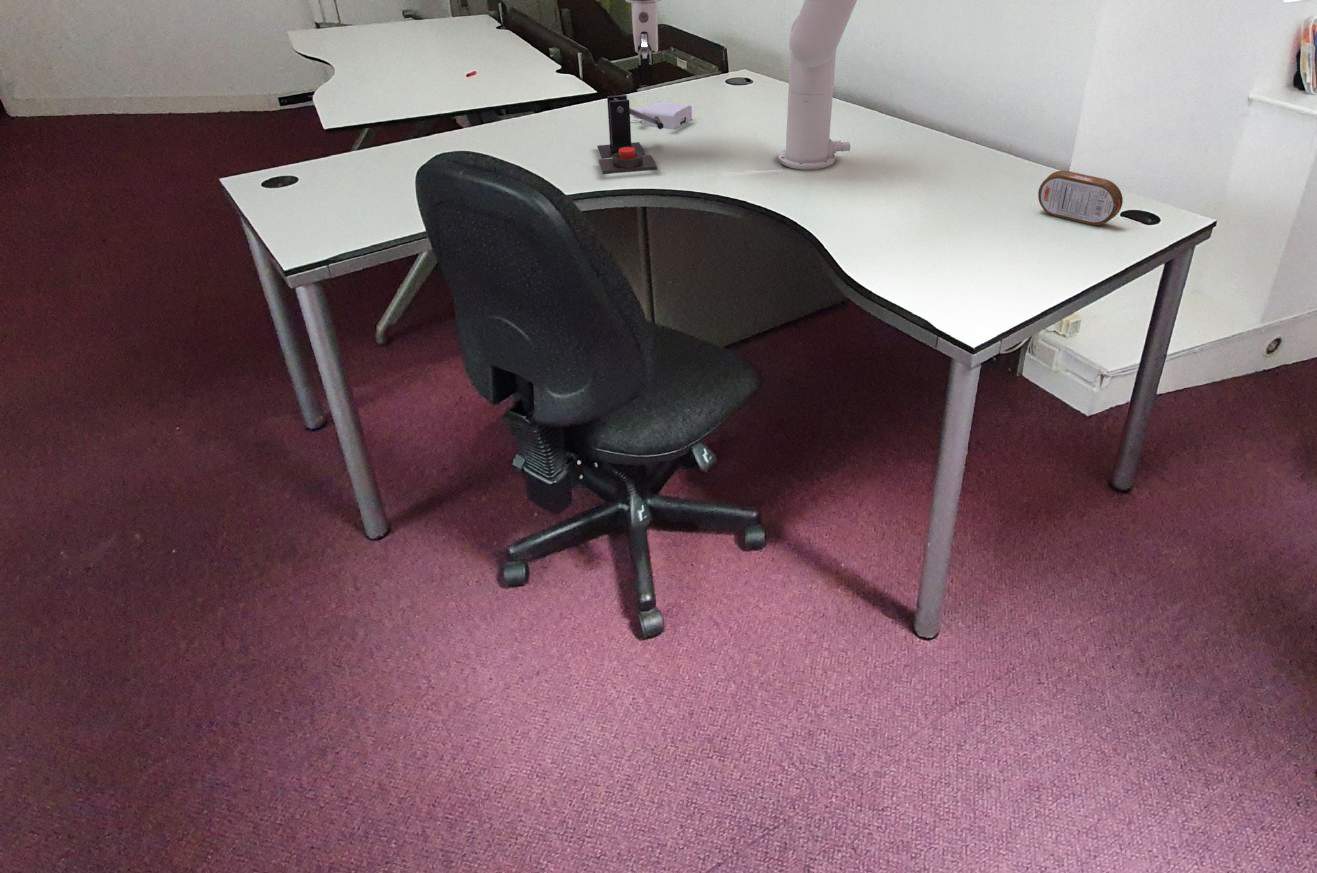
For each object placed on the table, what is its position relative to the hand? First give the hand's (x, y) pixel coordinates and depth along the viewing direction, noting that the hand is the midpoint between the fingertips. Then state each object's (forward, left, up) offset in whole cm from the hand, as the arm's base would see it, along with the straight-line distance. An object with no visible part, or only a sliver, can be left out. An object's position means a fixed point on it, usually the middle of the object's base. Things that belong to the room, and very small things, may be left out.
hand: (646, 77), depth 206 cm
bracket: (+6, -3, -18) cm, 19 cm away
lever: (+2, -3, -10) cm, 11 cm away
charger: (-6, -24, -18) cm, 31 cm away
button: (+6, +8, -14) cm, 18 cm away
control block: (+6, +8, -18) cm, 20 cm away
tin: (-73, +57, -18) cm, 94 cm away
